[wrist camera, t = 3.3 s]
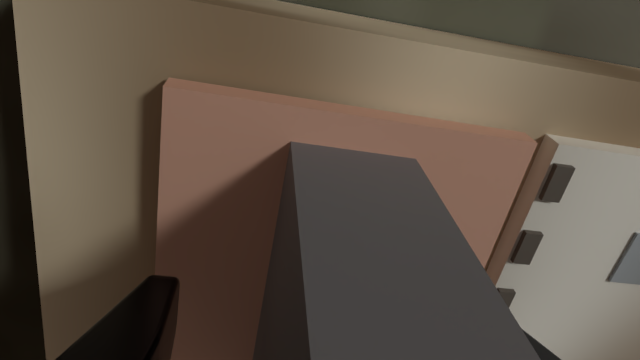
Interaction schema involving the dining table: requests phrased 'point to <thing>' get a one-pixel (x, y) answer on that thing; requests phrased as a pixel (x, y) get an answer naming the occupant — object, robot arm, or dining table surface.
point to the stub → (332, 229)
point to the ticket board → (336, 87)
